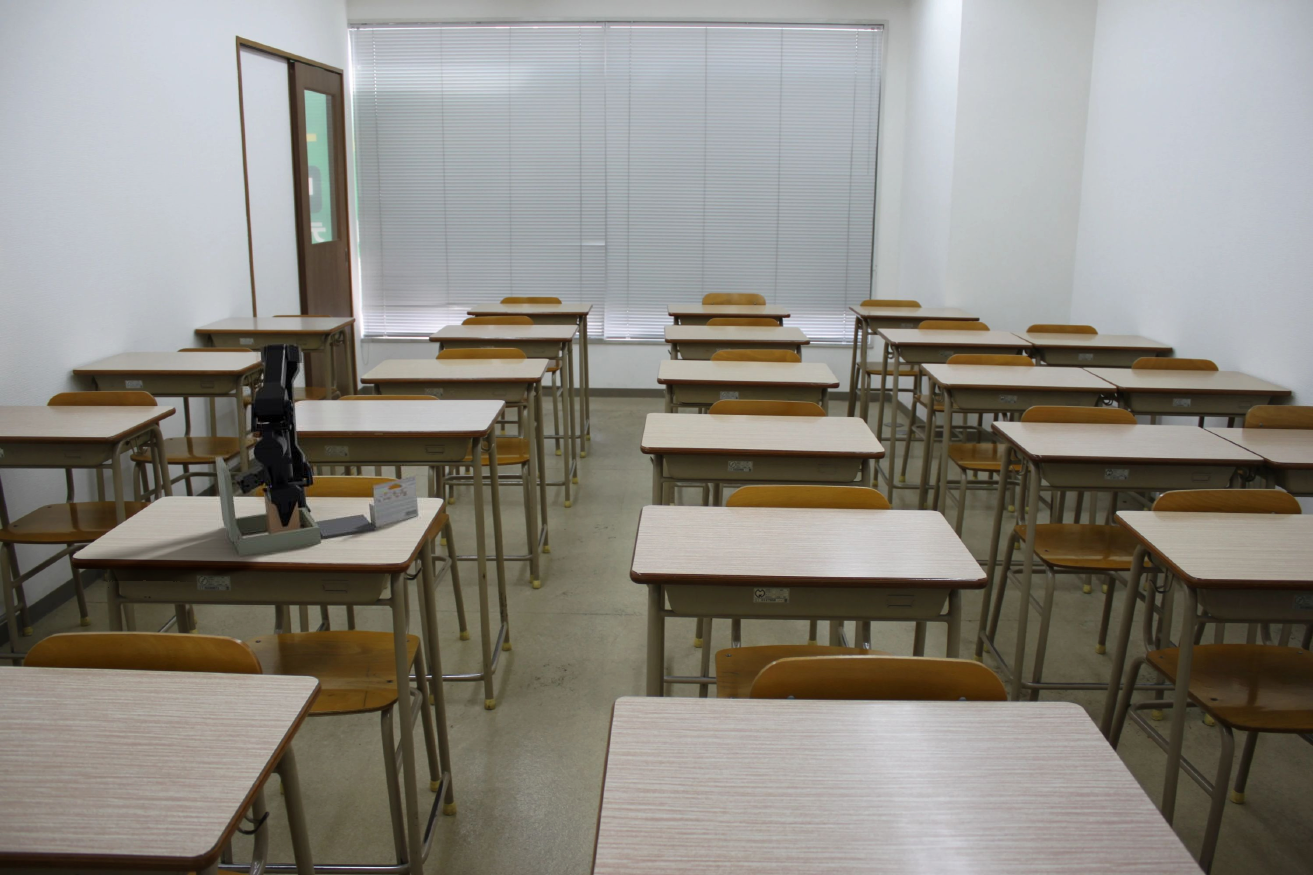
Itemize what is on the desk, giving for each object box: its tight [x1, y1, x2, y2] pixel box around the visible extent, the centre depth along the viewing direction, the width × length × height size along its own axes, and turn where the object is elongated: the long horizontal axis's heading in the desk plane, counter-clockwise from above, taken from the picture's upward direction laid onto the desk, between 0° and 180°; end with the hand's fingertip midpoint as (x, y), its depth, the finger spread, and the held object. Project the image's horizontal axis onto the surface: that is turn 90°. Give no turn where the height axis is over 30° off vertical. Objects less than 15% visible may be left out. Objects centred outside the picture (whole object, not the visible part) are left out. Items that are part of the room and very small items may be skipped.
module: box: [263, 491, 301, 534], centre depth 207 cm, size 4×6×10 cm, turn 120°
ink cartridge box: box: [368, 475, 419, 528], centre depth 218 cm, size 2×11×10 cm, turn 136°
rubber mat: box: [315, 513, 376, 539], centre depth 214 cm, size 11×11×1 cm
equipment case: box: [214, 456, 322, 557], centre depth 205 cm, size 16×17×18 cm
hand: (283, 523), depth 207 cm, fingers closed on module, 4 cm apart
